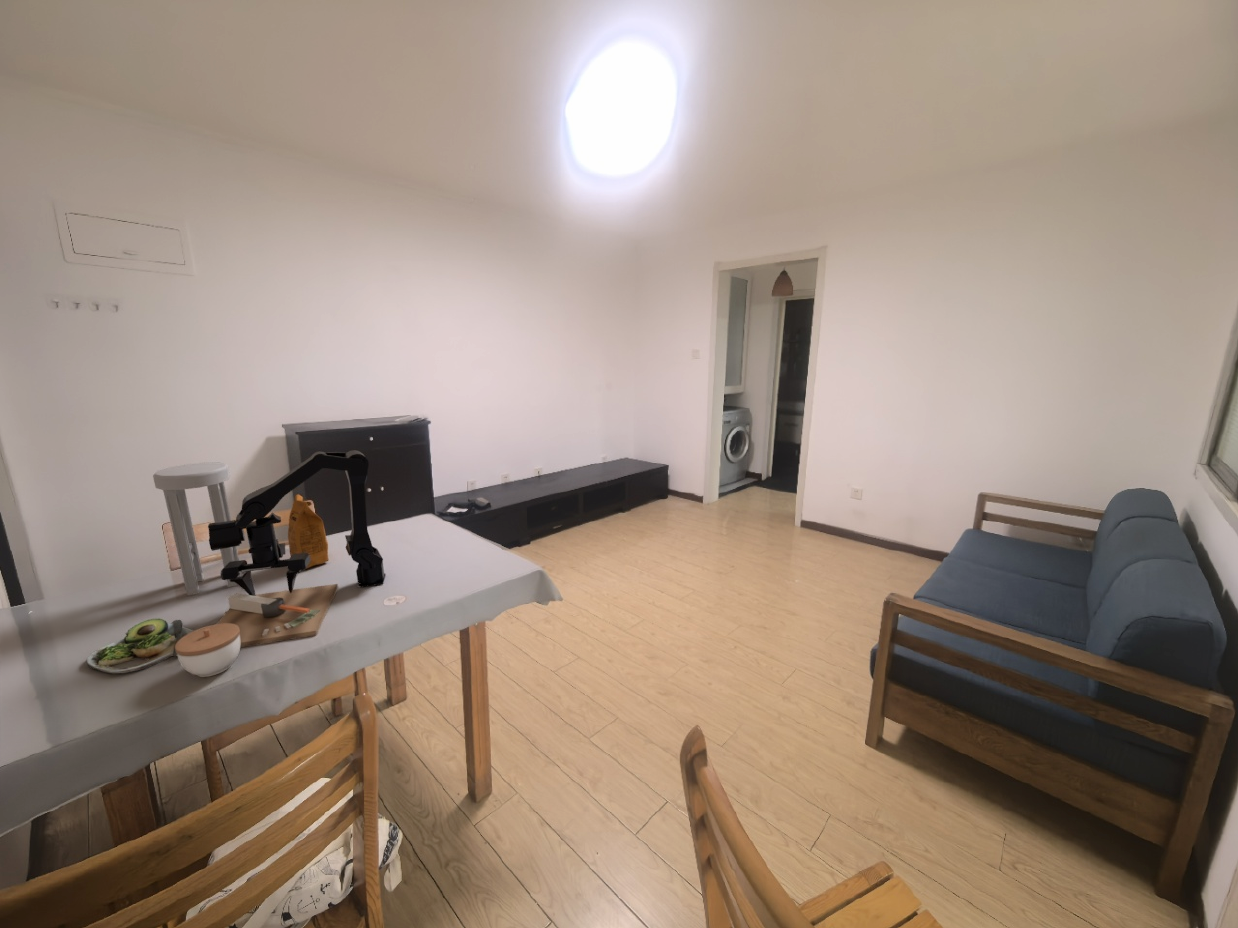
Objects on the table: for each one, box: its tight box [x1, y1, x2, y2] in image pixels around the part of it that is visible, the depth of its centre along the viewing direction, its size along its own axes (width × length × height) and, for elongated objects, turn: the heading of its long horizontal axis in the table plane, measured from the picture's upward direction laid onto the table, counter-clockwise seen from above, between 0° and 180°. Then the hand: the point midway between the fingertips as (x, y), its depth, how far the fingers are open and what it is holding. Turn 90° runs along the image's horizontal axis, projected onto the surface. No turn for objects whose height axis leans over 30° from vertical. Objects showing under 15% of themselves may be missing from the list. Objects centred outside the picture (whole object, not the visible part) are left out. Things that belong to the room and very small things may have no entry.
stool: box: [152, 462, 240, 596], centre depth 139 cm, size 16×16×35 cm
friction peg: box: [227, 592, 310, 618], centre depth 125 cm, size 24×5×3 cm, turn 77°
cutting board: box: [216, 583, 339, 648], centre depth 126 cm, size 24×25×2 cm
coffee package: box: [287, 493, 330, 570], centre depth 155 cm, size 10×12×22 cm
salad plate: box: [85, 618, 194, 674], centre depth 111 cm, size 19×18×5 cm
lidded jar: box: [175, 623, 242, 678], centre depth 105 cm, size 11×11×9 cm
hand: (272, 594), depth 130 cm, fingers open, 8 cm apart
